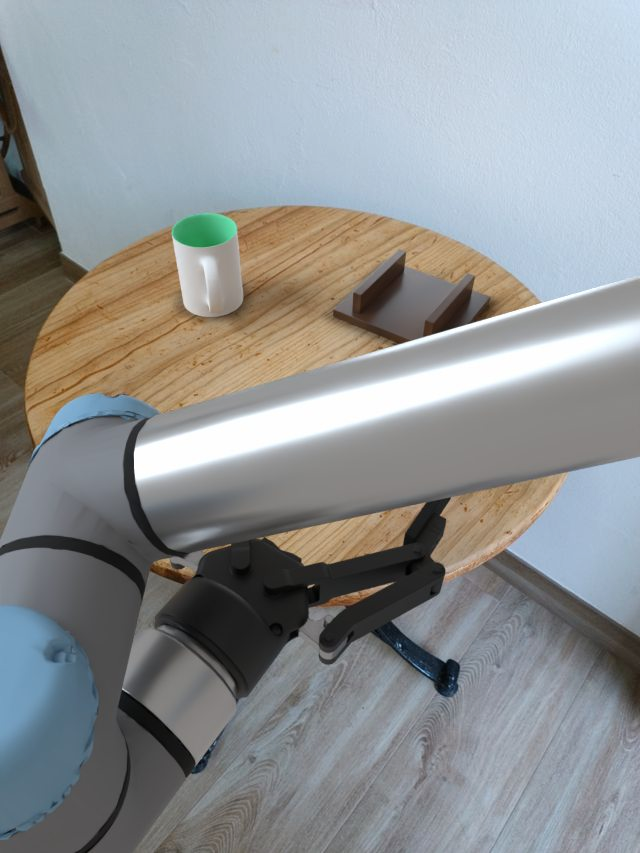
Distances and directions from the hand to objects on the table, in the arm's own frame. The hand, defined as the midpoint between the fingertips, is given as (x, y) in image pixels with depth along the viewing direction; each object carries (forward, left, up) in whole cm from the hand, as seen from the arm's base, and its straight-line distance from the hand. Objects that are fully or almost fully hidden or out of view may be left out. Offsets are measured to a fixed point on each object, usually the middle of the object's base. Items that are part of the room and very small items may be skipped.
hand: (371, 447), depth 54 cm
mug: (+36, -22, -15) cm, 45 cm away
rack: (+14, -36, -15) cm, 42 cm away
